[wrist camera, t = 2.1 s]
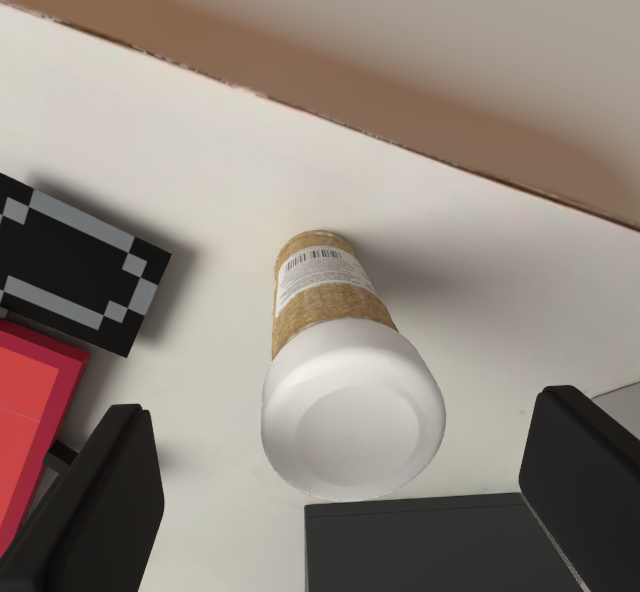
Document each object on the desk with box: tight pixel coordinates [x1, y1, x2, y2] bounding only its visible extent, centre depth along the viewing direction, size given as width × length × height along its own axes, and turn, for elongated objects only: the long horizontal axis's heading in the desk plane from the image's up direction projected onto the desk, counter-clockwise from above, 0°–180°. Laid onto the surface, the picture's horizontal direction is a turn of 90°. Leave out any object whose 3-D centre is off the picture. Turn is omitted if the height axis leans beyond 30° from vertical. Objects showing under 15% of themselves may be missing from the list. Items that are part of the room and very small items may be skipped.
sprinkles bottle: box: [261, 230, 446, 502], centre depth 16 cm, size 5×5×13 cm
